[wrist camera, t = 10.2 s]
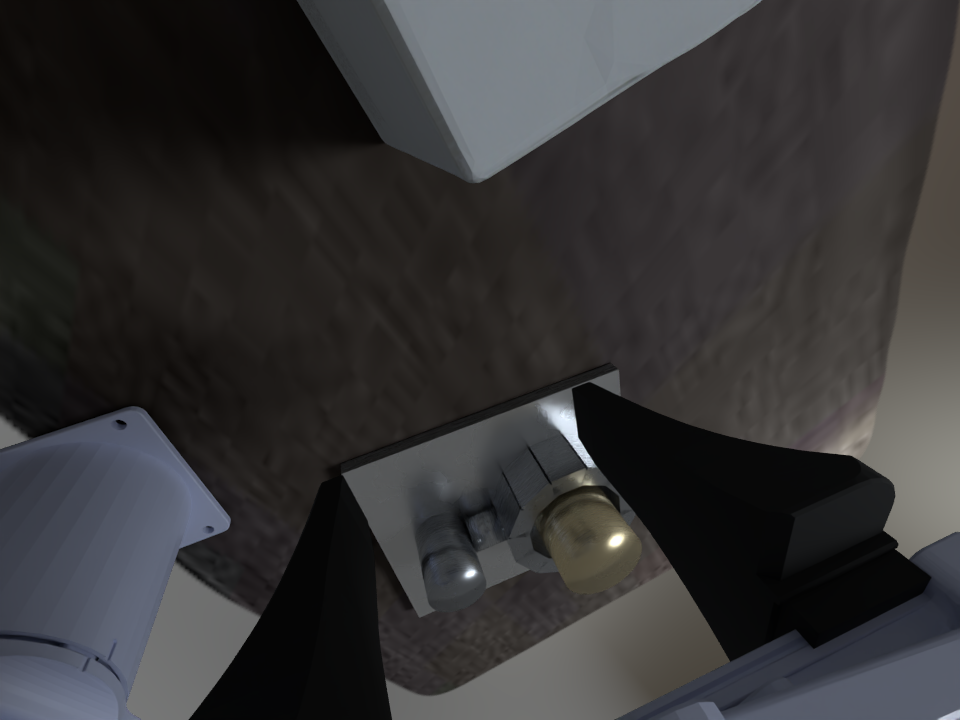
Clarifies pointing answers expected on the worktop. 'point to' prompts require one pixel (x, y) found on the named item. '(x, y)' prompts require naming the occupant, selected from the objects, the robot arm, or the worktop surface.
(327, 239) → the worktop surface
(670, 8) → the small box
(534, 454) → the manifold plate
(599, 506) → the brass rounded plug
